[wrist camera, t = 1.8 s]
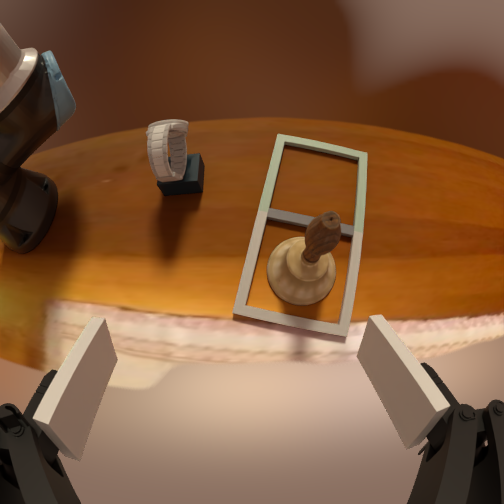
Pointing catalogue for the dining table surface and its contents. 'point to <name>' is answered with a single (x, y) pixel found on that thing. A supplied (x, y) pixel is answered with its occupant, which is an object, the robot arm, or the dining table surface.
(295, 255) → the hand bell
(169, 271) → the dining table surface
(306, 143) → the window frame
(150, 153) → the watch
